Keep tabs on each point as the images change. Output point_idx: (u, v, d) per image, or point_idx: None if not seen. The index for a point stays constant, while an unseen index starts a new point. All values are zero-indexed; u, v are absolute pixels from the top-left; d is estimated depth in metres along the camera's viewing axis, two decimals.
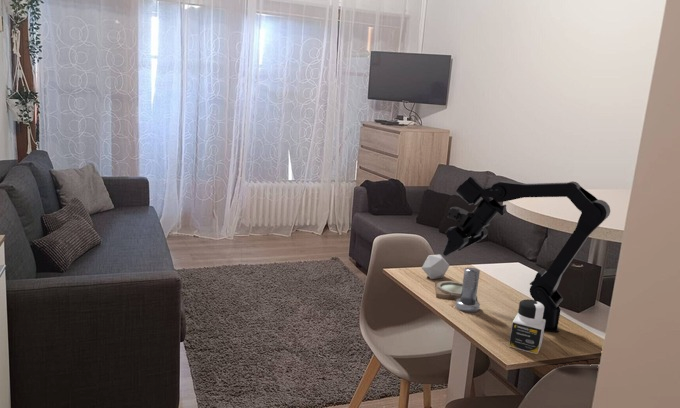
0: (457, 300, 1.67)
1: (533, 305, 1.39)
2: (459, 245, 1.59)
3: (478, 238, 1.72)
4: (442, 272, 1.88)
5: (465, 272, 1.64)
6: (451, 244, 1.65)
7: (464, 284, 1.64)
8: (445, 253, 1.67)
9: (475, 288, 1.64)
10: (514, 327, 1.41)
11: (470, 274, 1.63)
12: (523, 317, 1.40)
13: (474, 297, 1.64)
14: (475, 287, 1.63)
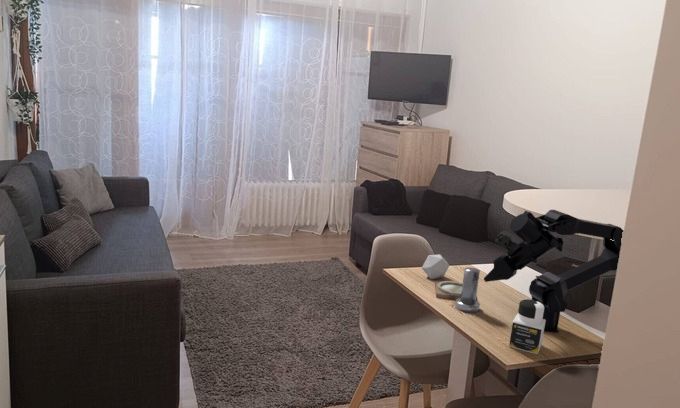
0: (457, 300, 1.67)
1: (533, 305, 1.39)
2: (507, 278, 1.49)
3: None
4: (442, 272, 1.88)
5: (465, 272, 1.64)
6: (495, 272, 1.54)
7: (464, 284, 1.64)
8: (486, 279, 1.56)
9: (475, 288, 1.64)
10: (514, 327, 1.41)
11: (470, 274, 1.63)
12: (523, 317, 1.40)
13: (474, 297, 1.64)
14: (475, 287, 1.63)
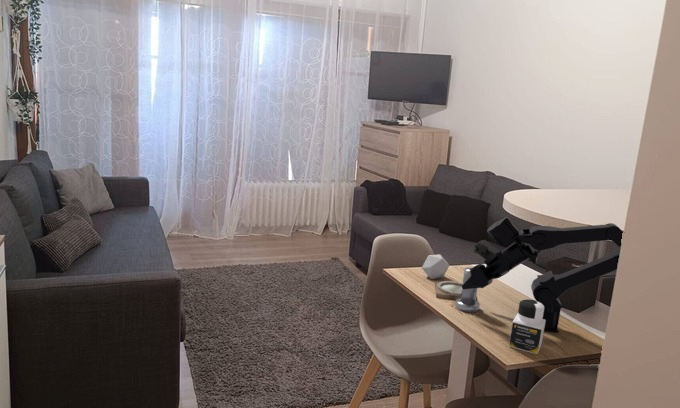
0: (457, 300, 1.67)
1: (533, 305, 1.39)
2: (482, 286, 1.53)
3: None
4: (442, 272, 1.88)
5: (465, 272, 1.64)
6: (473, 280, 1.58)
7: None
8: (464, 287, 1.61)
9: (475, 288, 1.64)
10: (514, 327, 1.41)
11: (470, 274, 1.63)
12: (523, 317, 1.40)
13: (474, 297, 1.64)
14: None
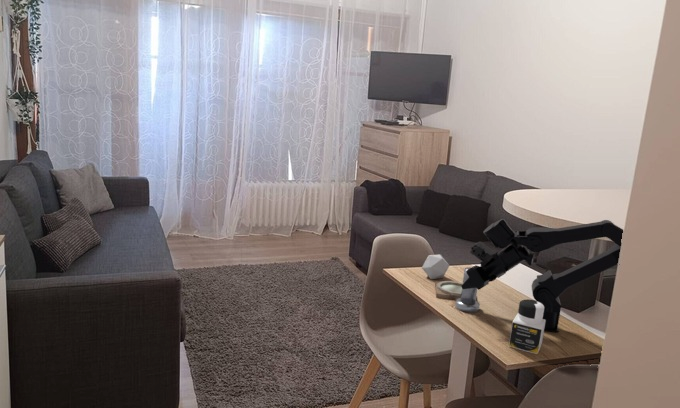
0: (457, 300, 1.67)
1: (533, 305, 1.39)
2: (478, 288, 1.54)
3: None
4: (442, 272, 1.88)
5: (465, 272, 1.64)
6: (472, 280, 1.61)
7: None
8: (463, 286, 1.63)
9: (475, 288, 1.64)
10: (514, 327, 1.41)
11: None
12: (523, 317, 1.40)
13: (474, 297, 1.64)
14: None
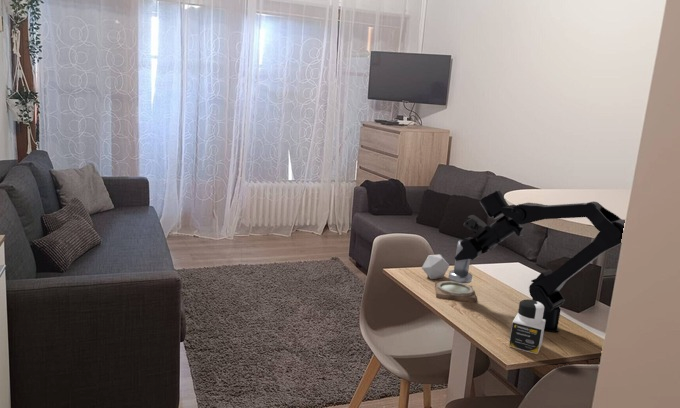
0: (450, 272, 1.73)
1: (533, 305, 1.39)
2: (472, 258, 1.60)
3: (484, 250, 1.71)
4: (442, 272, 1.88)
5: (458, 244, 1.70)
6: (465, 251, 1.67)
7: None
8: (457, 258, 1.70)
9: (468, 260, 1.70)
10: (514, 327, 1.41)
11: None
12: (523, 317, 1.40)
13: (467, 268, 1.70)
14: (468, 259, 1.70)
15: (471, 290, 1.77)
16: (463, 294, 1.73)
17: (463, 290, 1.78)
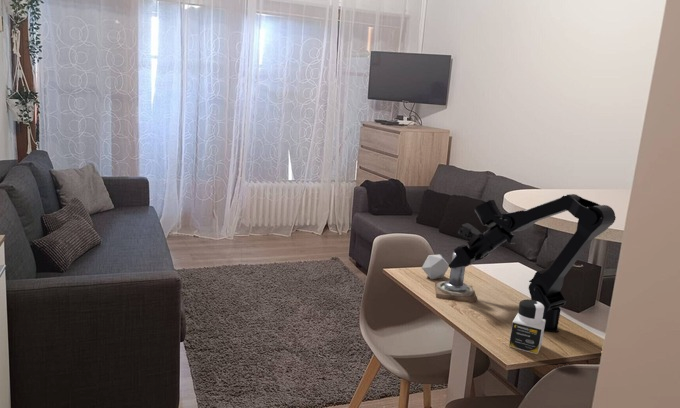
0: (446, 282, 1.79)
1: (533, 305, 1.39)
2: (465, 265, 1.65)
3: (480, 256, 1.77)
4: (442, 272, 1.88)
5: (453, 255, 1.76)
6: (458, 259, 1.72)
7: None
8: (450, 266, 1.74)
9: (462, 270, 1.75)
10: (514, 327, 1.41)
11: None
12: (523, 317, 1.40)
13: (462, 279, 1.76)
14: (462, 270, 1.75)
15: (471, 290, 1.77)
16: (463, 294, 1.73)
17: None
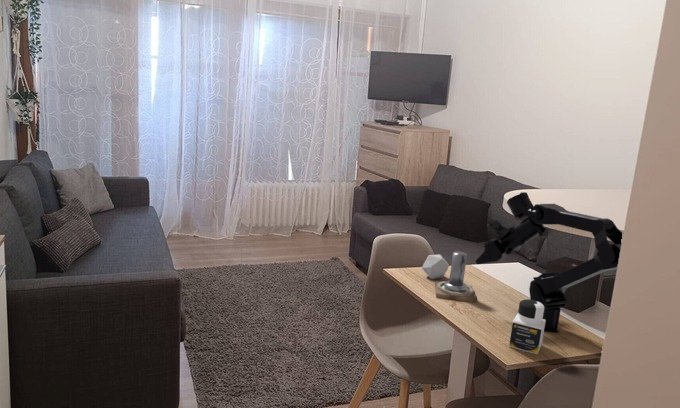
0: (446, 282, 1.79)
1: (533, 305, 1.39)
2: (496, 259, 1.59)
3: None
4: (442, 272, 1.88)
5: (453, 255, 1.75)
6: (486, 255, 1.64)
7: (452, 267, 1.76)
8: (478, 261, 1.67)
9: (462, 270, 1.75)
10: (514, 327, 1.41)
11: (458, 258, 1.74)
12: (523, 317, 1.40)
13: (462, 279, 1.76)
14: (462, 270, 1.75)
15: (471, 290, 1.77)
16: (463, 294, 1.73)
17: None
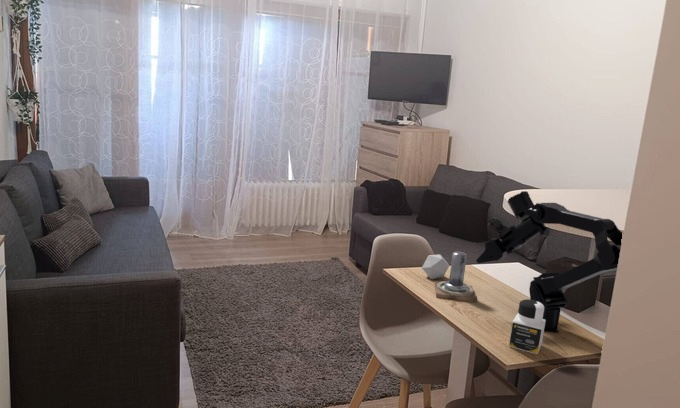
0: (446, 282, 1.79)
1: (533, 305, 1.39)
2: (497, 259, 1.59)
3: None
4: (442, 272, 1.88)
5: (453, 255, 1.76)
6: (487, 254, 1.64)
7: (452, 267, 1.76)
8: (478, 260, 1.67)
9: (462, 270, 1.75)
10: (514, 327, 1.41)
11: (458, 257, 1.74)
12: (523, 317, 1.40)
13: (462, 279, 1.76)
14: (462, 270, 1.75)
15: (471, 290, 1.77)
16: (463, 294, 1.73)
17: None
